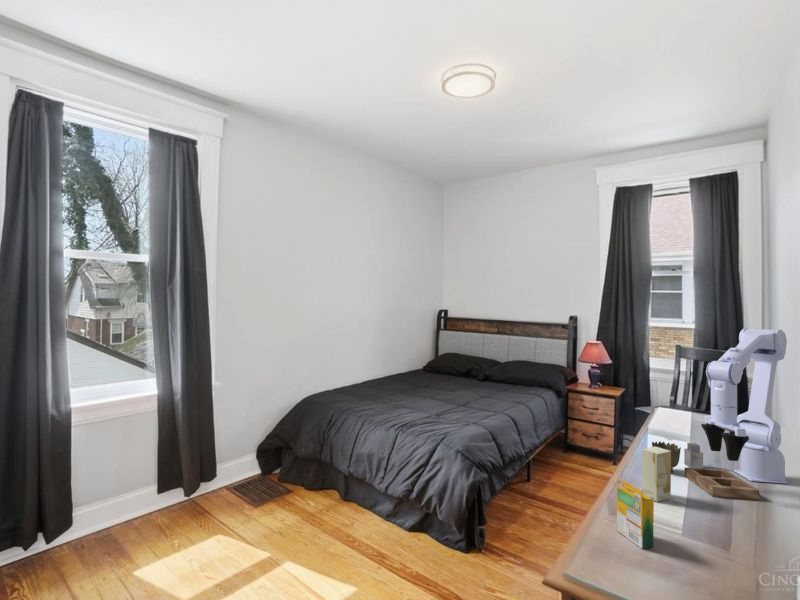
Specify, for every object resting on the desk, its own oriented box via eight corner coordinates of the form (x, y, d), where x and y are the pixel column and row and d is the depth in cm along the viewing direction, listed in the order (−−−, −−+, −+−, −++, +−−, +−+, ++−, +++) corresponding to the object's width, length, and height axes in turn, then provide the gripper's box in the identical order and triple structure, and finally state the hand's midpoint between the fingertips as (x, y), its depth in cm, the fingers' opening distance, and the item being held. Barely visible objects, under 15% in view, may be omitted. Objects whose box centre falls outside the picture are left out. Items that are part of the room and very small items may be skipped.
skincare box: (657, 502, 105) (657, 453, 106) (640, 495, 109) (640, 448, 109) (672, 497, 108) (671, 450, 109) (655, 491, 112) (655, 445, 112)
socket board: (725, 478, 122) (725, 470, 122) (759, 500, 108) (759, 490, 108) (684, 475, 123) (684, 467, 123) (712, 496, 109) (712, 486, 109)
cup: (685, 477, 122) (685, 449, 123) (657, 474, 124) (657, 447, 124) (674, 467, 130) (674, 442, 130) (648, 465, 131) (648, 440, 131)
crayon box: (654, 548, 85) (654, 490, 85) (641, 549, 84) (642, 491, 84) (627, 529, 92) (627, 476, 92) (616, 530, 91) (616, 477, 92)
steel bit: (696, 465, 133) (696, 442, 133) (703, 469, 129) (703, 446, 129) (684, 464, 133) (684, 442, 133) (690, 468, 130) (690, 445, 130)
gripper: (693, 399, 122) (693, 446, 122) (724, 410, 108) (724, 464, 107) (719, 400, 121) (719, 447, 121) (754, 412, 107) (755, 465, 106)
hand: (724, 455), depth 114 cm, fingers open, 7 cm apart
